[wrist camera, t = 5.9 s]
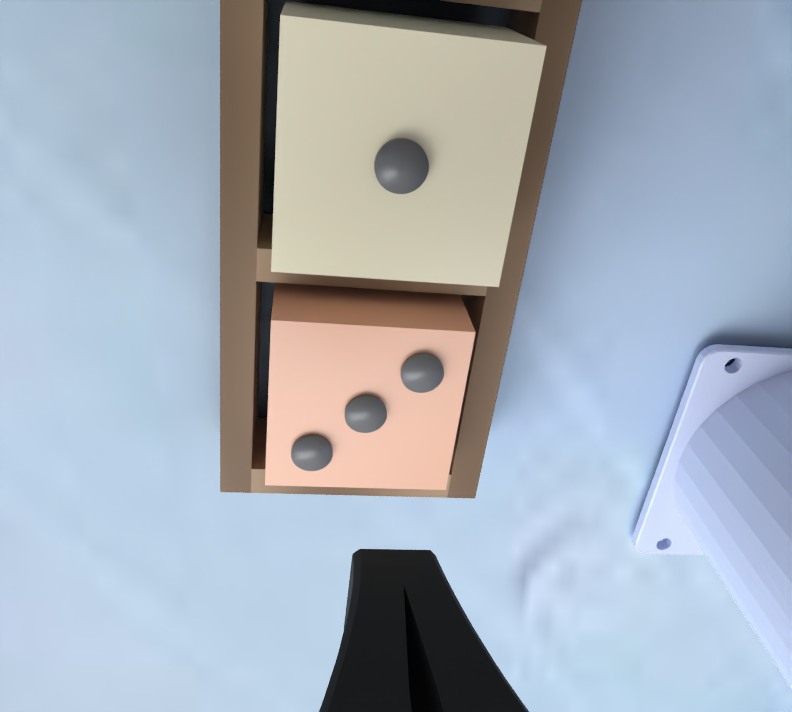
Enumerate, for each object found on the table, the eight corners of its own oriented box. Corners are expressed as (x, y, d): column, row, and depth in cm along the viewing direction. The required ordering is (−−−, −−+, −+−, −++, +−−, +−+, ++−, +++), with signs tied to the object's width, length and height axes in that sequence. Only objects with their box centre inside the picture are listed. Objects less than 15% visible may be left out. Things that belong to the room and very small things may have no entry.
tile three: (452, 276, 19) (477, 335, 17) (428, 419, 22) (446, 493, 19) (276, 264, 19) (270, 323, 16) (271, 413, 21) (264, 489, 18)
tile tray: (626, -414, 13) (684, -479, 11) (459, 447, 23) (474, 498, 21) (235, -497, 12) (220, -585, 10) (229, 439, 22) (220, 491, 20)
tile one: (504, 26, 16) (549, 47, 13) (469, 232, 18) (499, 289, 15) (286, 0, 15) (279, 15, 12) (277, 217, 17) (270, 274, 14)
